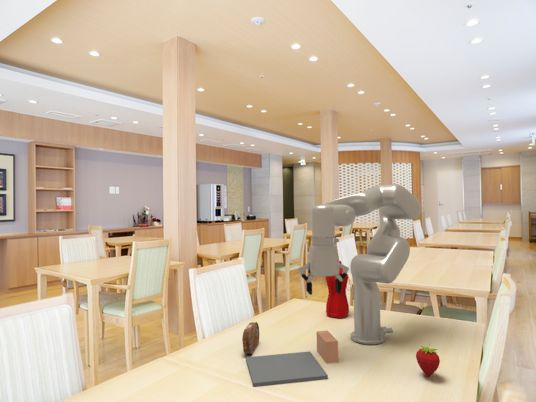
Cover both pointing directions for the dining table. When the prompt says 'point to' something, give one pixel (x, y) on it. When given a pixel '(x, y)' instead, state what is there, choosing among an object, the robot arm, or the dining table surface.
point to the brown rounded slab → (250, 338)
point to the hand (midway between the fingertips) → (323, 293)
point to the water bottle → (337, 297)
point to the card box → (327, 346)
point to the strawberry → (428, 360)
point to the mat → (284, 368)
